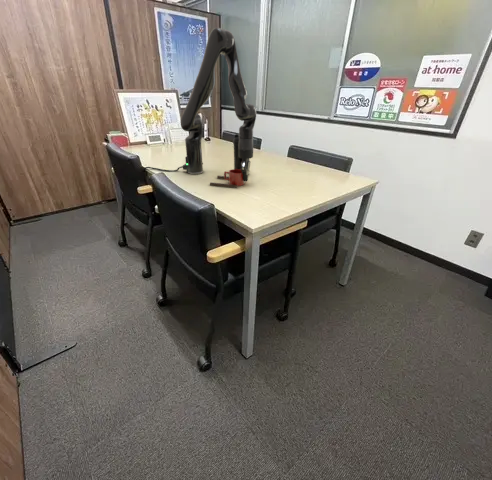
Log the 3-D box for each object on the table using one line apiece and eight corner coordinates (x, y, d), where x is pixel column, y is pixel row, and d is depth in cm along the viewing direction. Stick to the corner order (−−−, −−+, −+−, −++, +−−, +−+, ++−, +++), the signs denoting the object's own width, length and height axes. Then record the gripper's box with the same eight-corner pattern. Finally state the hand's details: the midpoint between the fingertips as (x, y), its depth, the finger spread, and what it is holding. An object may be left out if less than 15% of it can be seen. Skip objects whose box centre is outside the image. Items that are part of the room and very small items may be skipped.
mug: (245, 182, 148) (246, 170, 145) (240, 187, 141) (240, 174, 138) (227, 180, 152) (227, 167, 148) (221, 184, 145) (221, 171, 141)
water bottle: (247, 177, 157) (249, 135, 145) (231, 175, 159) (231, 135, 147) (250, 172, 166) (252, 133, 154) (234, 171, 167) (235, 132, 156)
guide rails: (209, 185, 143) (209, 182, 142) (217, 178, 154) (217, 175, 154) (236, 188, 140) (236, 185, 139) (242, 180, 151) (242, 177, 150)
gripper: (241, 145, 141) (241, 177, 150) (235, 150, 130) (235, 184, 139) (255, 145, 140) (254, 178, 148) (250, 150, 129) (249, 185, 137)
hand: (245, 181), depth 144 cm, fingers closed
